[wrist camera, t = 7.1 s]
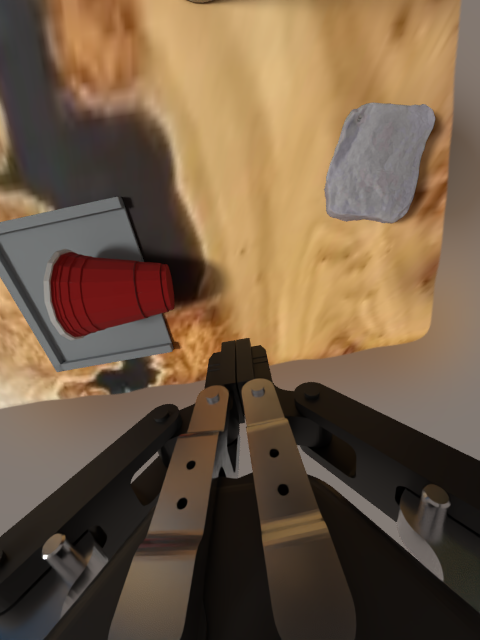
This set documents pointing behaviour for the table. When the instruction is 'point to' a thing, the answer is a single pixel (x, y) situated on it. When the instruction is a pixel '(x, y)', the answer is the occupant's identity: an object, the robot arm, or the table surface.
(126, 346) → the grey tray
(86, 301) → the plastic cup
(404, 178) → the stone block
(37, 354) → the table surface
